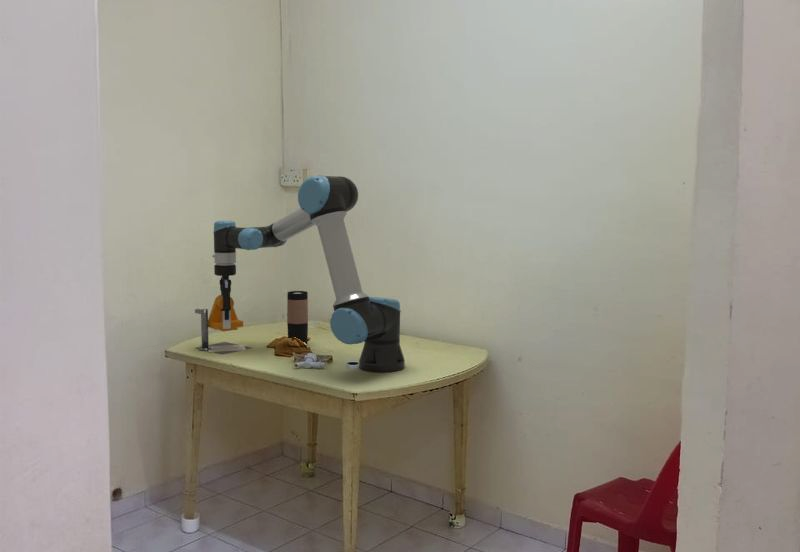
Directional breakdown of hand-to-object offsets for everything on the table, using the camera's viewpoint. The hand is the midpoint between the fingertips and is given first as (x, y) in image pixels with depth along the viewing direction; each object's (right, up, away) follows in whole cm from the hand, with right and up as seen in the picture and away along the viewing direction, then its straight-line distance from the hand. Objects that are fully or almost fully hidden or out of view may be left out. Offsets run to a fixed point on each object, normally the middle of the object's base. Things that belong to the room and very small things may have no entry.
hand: (226, 325), depth 258 cm
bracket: (0, -1, 0) cm, 1 cm away
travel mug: (+24, -8, +11) cm, 28 cm away
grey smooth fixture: (-8, -8, -1) cm, 12 cm away
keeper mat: (-1, -9, +2) cm, 9 cm away
